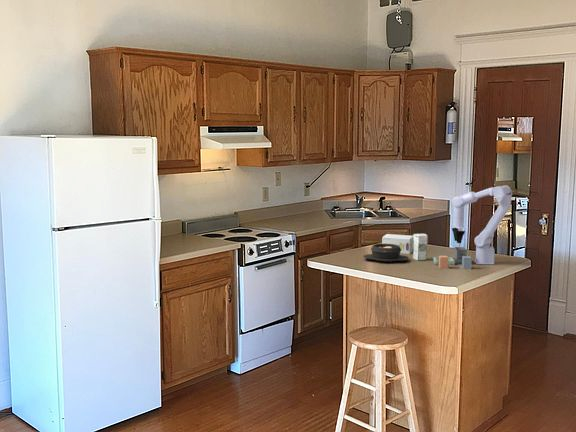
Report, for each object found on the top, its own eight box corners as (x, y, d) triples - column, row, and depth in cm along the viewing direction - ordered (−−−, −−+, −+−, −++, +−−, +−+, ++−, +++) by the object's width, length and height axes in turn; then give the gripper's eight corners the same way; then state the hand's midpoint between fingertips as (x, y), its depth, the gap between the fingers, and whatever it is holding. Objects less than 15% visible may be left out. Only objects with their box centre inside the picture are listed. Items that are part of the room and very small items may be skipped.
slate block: (469, 267, 330) (470, 256, 329) (471, 269, 326) (471, 257, 325) (462, 267, 331) (462, 256, 330) (463, 268, 327) (463, 257, 326)
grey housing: (464, 260, 347) (465, 246, 346) (468, 264, 337) (468, 250, 336) (451, 260, 348) (452, 246, 347) (455, 264, 337) (455, 250, 336)
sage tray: (451, 261, 346) (451, 257, 345) (454, 265, 336) (454, 261, 336) (433, 261, 347) (433, 257, 346) (435, 264, 337) (435, 260, 336)
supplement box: (381, 252, 373) (381, 236, 372) (386, 248, 385) (386, 233, 384) (409, 254, 367) (410, 238, 366) (414, 250, 379) (414, 235, 378)
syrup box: (421, 258, 354) (422, 233, 352) (426, 260, 348) (427, 234, 346) (412, 259, 352) (413, 233, 350) (417, 261, 347) (418, 235, 345)
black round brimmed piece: (361, 262, 342) (361, 247, 341) (365, 256, 360) (365, 242, 359) (407, 265, 336) (408, 249, 335) (409, 258, 354) (409, 243, 353)
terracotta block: (446, 267, 331) (446, 255, 331) (447, 268, 327) (448, 257, 327) (438, 266, 332) (439, 255, 331) (439, 268, 328) (440, 257, 327)
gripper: (449, 216, 356) (448, 239, 357) (453, 219, 341) (452, 244, 343) (462, 216, 355) (461, 239, 357) (466, 219, 341) (465, 244, 342)
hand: (457, 241), depth 350 cm, fingers open, 7 cm apart
